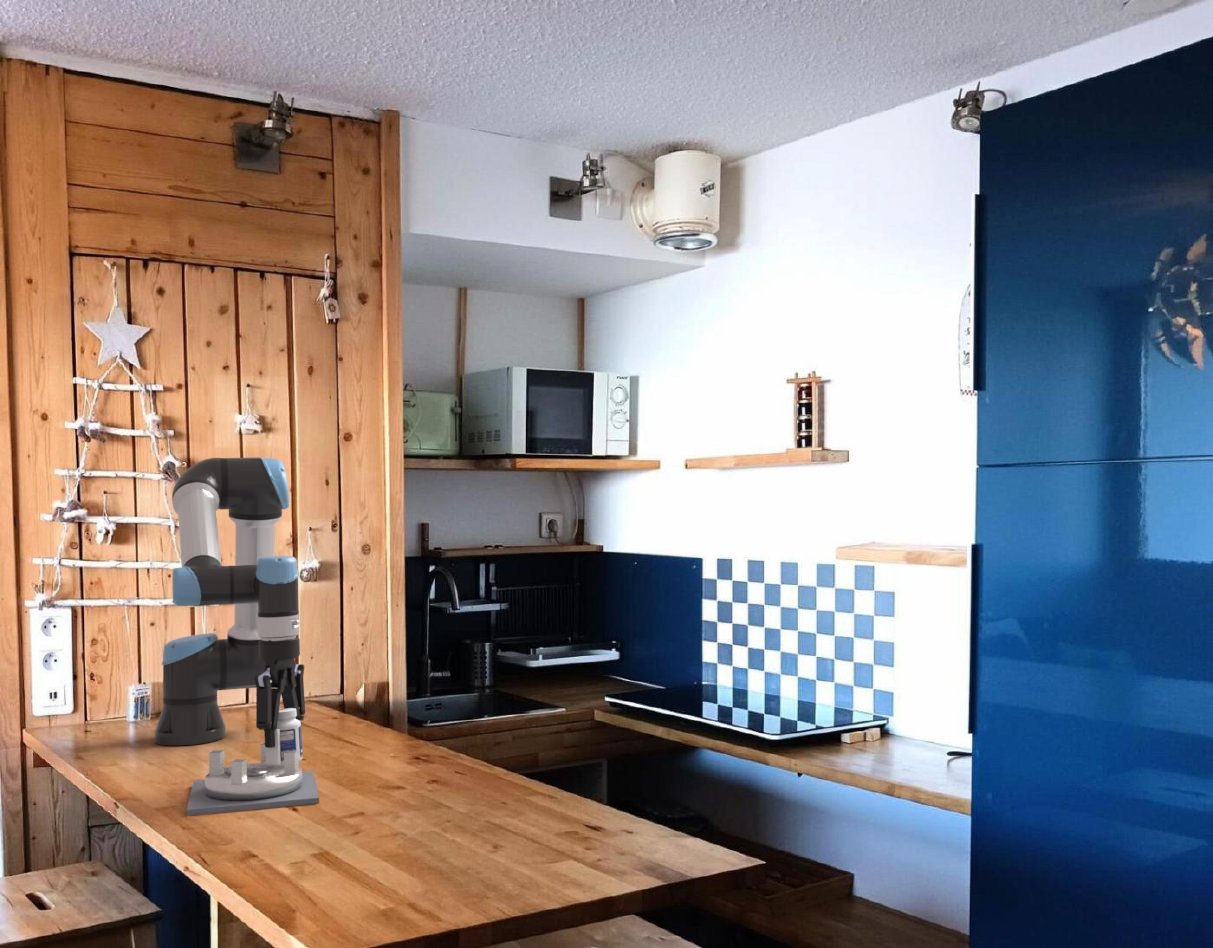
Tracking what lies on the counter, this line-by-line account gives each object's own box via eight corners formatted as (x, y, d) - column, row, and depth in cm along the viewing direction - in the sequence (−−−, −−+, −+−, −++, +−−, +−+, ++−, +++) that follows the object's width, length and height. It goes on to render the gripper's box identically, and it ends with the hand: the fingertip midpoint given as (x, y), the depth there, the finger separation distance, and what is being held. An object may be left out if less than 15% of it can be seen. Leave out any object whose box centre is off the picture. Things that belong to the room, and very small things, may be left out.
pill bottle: (287, 757, 213) (284, 706, 213) (309, 758, 210) (306, 707, 210) (267, 764, 208) (264, 712, 208) (289, 765, 205) (286, 713, 206)
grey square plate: (193, 786, 208) (193, 779, 208) (313, 775, 215) (313, 769, 215) (186, 815, 188) (186, 808, 188) (319, 803, 195) (319, 796, 195)
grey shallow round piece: (188, 799, 194) (188, 762, 194) (227, 775, 211) (227, 741, 211) (283, 800, 193) (282, 762, 193) (314, 775, 210) (314, 741, 210)
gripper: (268, 645, 199) (272, 773, 199) (322, 631, 217) (325, 748, 217) (232, 644, 201) (236, 771, 201) (288, 630, 219) (291, 747, 219)
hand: (282, 759), depth 209 cm, fingers open, 6 cm apart
